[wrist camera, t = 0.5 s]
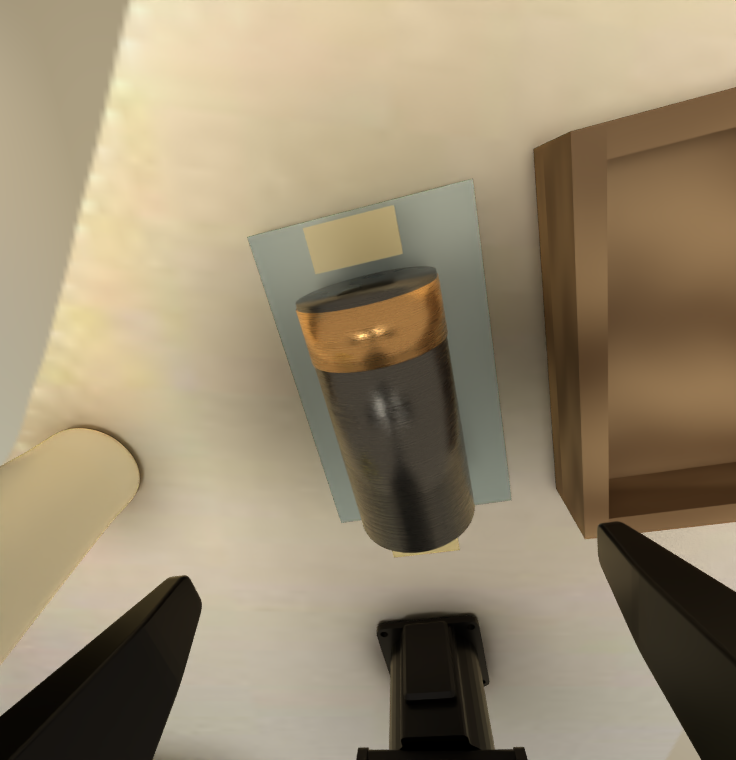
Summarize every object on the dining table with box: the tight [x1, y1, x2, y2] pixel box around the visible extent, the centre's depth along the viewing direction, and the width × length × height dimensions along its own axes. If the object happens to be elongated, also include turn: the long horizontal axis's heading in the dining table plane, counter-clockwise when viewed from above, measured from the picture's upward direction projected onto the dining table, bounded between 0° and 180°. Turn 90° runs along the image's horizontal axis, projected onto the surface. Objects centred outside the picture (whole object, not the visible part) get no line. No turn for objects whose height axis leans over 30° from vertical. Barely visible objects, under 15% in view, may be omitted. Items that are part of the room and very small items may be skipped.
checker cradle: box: [247, 179, 511, 557], centre depth 17 cm, size 15×9×4 cm, turn 13°
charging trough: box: [534, 87, 736, 539], centre depth 15 cm, size 16×9×4 cm, turn 13°
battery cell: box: [295, 266, 475, 553], centre depth 16 cm, size 10×5×5 cm, turn 13°
